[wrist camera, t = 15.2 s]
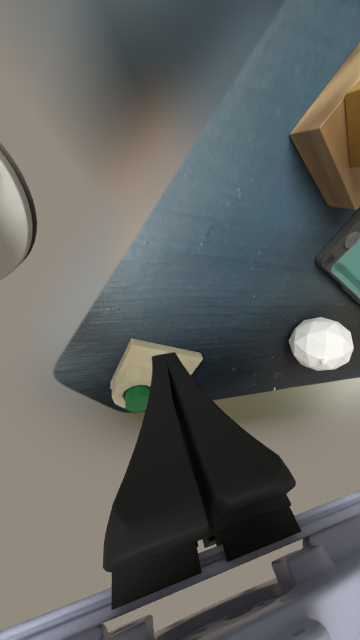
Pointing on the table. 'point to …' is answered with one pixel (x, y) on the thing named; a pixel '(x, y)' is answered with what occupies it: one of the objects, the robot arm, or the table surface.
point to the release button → (137, 398)
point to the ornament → (321, 344)
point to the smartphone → (344, 257)
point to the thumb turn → (353, 124)
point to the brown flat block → (331, 139)
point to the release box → (145, 366)
